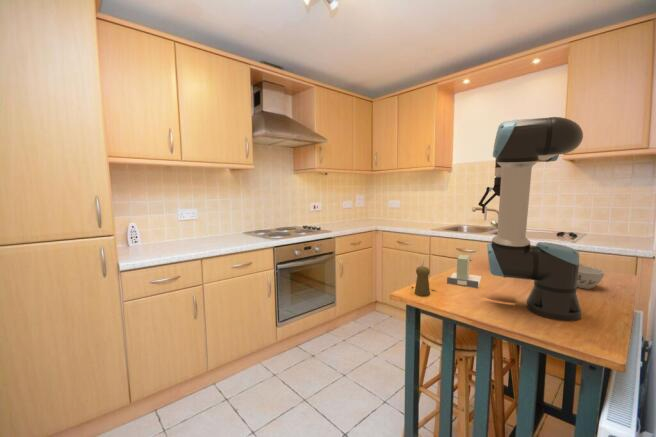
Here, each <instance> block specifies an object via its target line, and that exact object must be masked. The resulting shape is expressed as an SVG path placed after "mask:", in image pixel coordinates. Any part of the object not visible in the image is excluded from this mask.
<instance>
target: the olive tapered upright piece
mask: <svg viewBox="0 0 656 437" xmlns="http://www.w3.org/2000/svg"><path fill="white" fill-rule="evenodd" d="M430 273H431V271H430V269H429V268H428V267H427V266H418V267H416V270H415V274H416V281H415V288H414V295H416V296H419V297H429V296H430V295H431V291H430V290H431V289H430V282H429V275H430Z"/></svg>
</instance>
